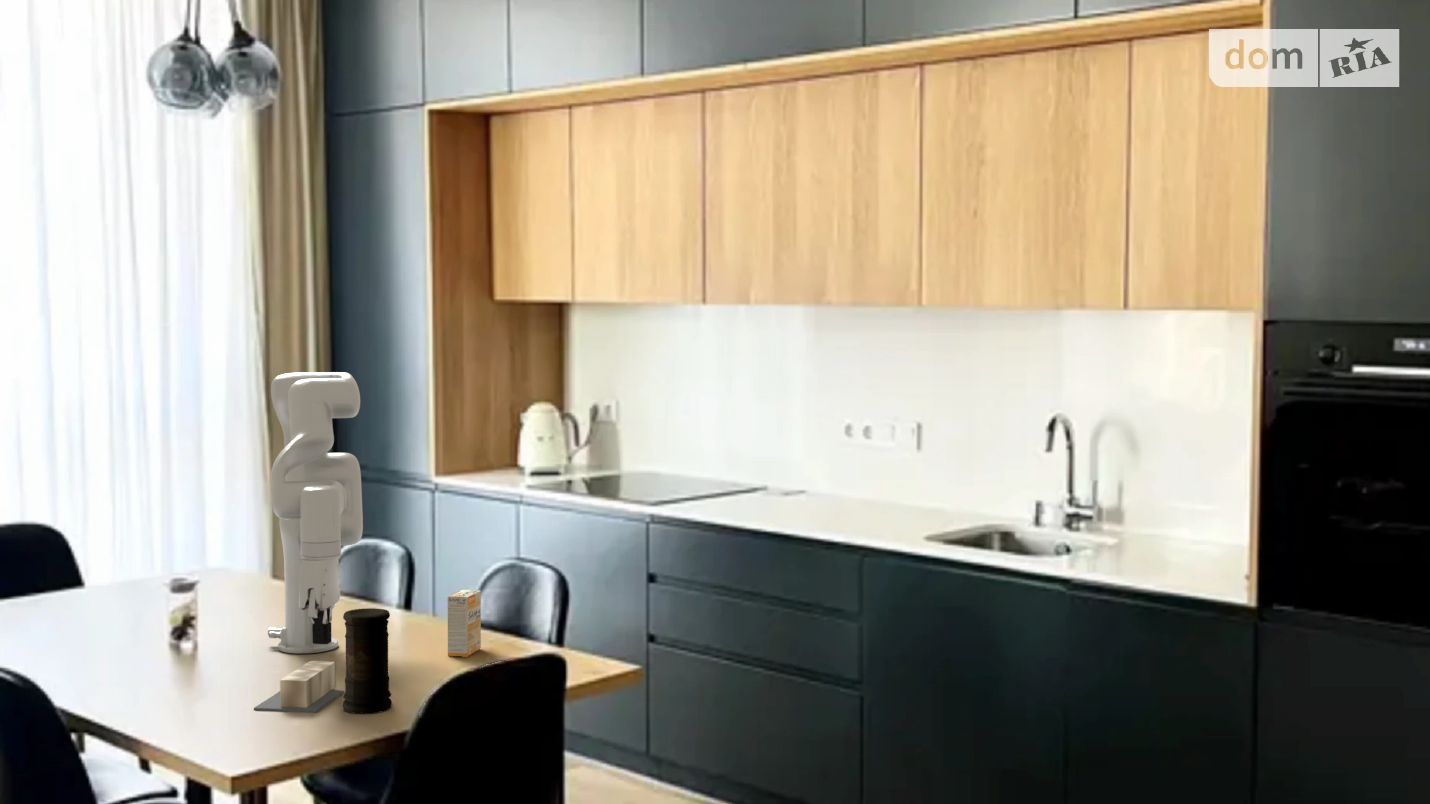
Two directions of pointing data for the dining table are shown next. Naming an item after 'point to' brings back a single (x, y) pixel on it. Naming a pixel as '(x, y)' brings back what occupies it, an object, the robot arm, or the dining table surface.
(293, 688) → the beige patterned box
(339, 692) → the mat
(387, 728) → the dining table surface
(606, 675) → the dining table surface
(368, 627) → the container
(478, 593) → the supplement box
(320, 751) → the dining table surface
